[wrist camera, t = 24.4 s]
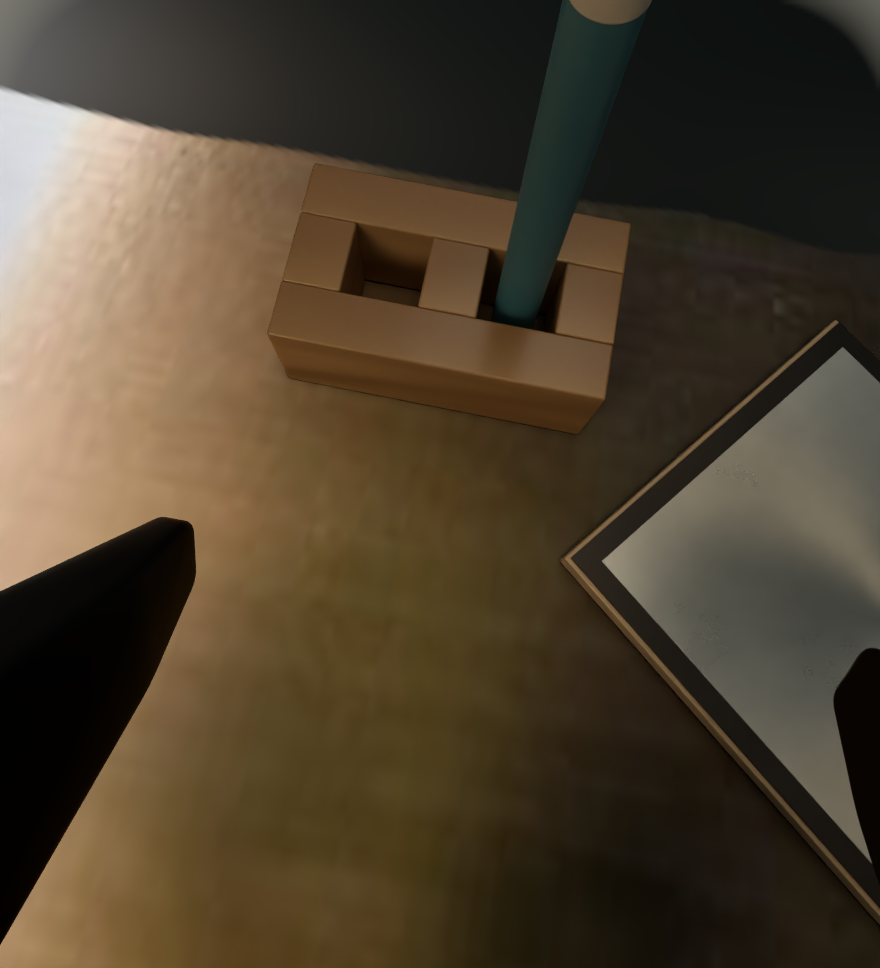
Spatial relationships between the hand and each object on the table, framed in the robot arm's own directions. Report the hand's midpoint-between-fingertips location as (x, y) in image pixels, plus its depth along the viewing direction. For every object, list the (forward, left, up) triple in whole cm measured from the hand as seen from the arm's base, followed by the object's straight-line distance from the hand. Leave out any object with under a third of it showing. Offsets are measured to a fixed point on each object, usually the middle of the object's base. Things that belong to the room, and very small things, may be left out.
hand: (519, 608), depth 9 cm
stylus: (+8, +6, -13) cm, 17 cm away
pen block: (+7, +8, -13) cm, 17 cm away
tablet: (+10, -9, -13) cm, 19 cm away
